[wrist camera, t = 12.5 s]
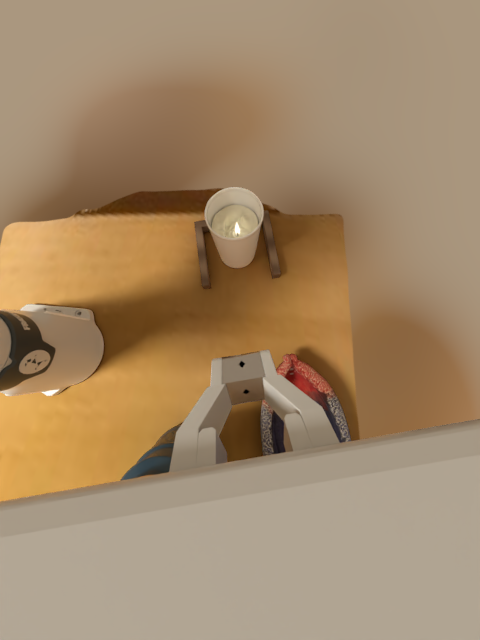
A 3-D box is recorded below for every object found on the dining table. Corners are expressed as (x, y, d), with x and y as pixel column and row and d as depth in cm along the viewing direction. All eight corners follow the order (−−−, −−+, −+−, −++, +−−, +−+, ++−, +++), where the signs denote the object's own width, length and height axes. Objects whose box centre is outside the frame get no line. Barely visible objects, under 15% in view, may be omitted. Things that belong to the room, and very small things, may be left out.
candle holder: (267, 248, 41) (276, 207, 29) (240, 280, 40) (238, 250, 28) (234, 225, 42) (230, 176, 30) (207, 255, 41) (192, 216, 29)
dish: (267, 528, 32) (271, 561, 27) (253, 355, 37) (254, 356, 32) (354, 524, 32) (374, 556, 27) (327, 350, 37) (340, 350, 32)
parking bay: (279, 277, 39) (280, 273, 38) (204, 288, 40) (202, 285, 38) (267, 216, 42) (268, 210, 40) (196, 227, 42) (194, 221, 40)
